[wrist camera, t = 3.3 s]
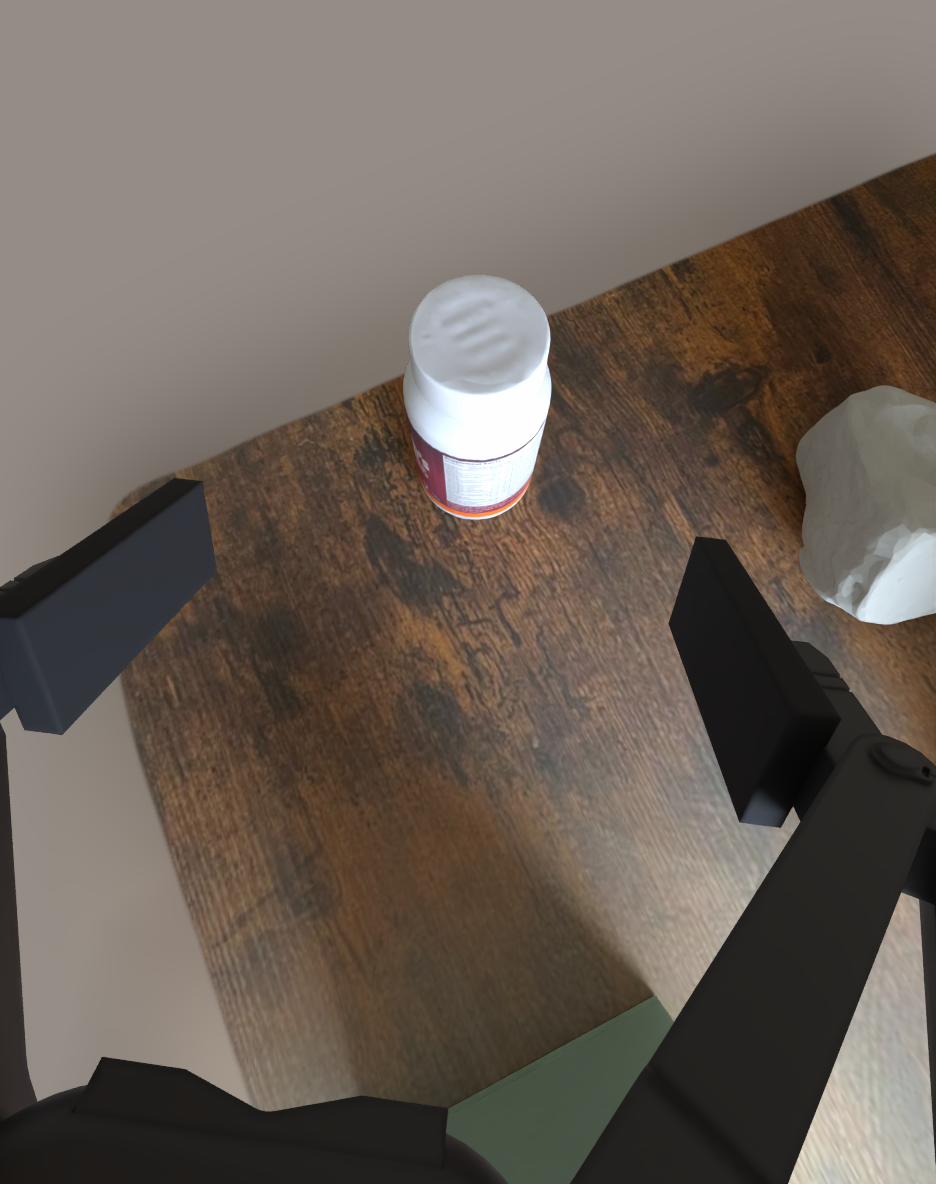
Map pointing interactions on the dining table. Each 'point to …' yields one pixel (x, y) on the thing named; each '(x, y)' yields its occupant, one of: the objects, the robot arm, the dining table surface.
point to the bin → (560, 1099)
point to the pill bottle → (477, 393)
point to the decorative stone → (872, 505)
